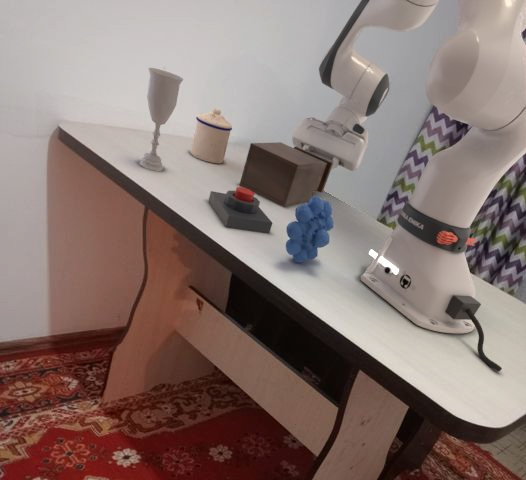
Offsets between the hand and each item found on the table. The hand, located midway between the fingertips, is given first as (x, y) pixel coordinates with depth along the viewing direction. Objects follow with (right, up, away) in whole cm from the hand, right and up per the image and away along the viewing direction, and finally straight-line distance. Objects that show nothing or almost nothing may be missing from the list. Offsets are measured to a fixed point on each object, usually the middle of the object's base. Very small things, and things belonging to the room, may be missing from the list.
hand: (312, 167), depth 123 cm
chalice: (-38, -9, -23) cm, 45 cm away
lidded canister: (-29, +2, -3) cm, 29 cm away
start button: (-17, -20, -35) cm, 43 cm away
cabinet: (-10, -11, -11) cm, 18 cm away
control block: (-18, -23, -33) cm, 44 cm away
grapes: (-7, -34, -42) cm, 55 cm away
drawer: (-4, -6, -2) cm, 8 cm away
